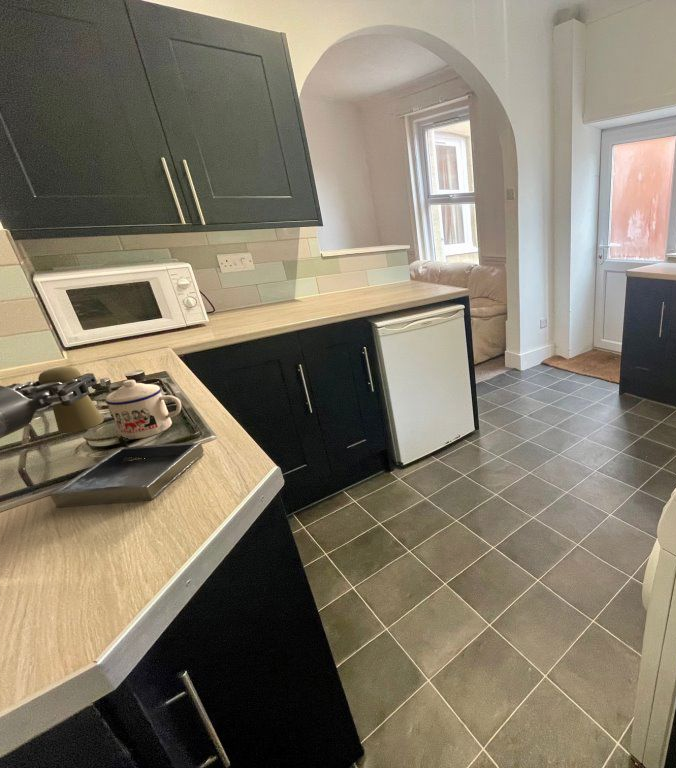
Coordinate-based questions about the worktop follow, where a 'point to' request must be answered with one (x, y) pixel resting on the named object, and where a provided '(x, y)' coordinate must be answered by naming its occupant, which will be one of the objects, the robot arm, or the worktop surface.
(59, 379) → the cork
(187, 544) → the worktop surface
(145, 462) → the dark grey square tray
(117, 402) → the teacup with lid
